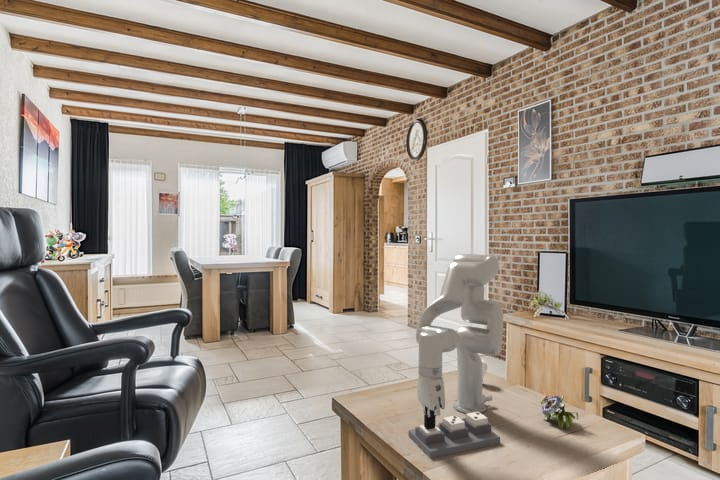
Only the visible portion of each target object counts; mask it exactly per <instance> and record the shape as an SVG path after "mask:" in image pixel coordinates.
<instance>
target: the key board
mask: <svg viewBox="0 0 720 480" xmlns="http://www.w3.org/2000/svg"><path fill="white" fill-rule="evenodd" d="M461 420H463V421H464V422H465V429H461V430H456V431H450V430H449V429H448V428H447V427H445V426H444V425H443V421H442V422H439V423H438V424H435V426H436V427H438V428H439V429H440V430H441V433H440V434H435V435H430V436H426V435H425V434H424V433H423V432H422V431H421V430H420V429H419V426H415V428H413V429H409V430H408V437H409V438H410V440H412V441H413V443H414V444H415V445H416V446H417V447H418V448H420V450H421V451H422V452H423V453H424V454H426V456H427V457H428V458H429V459H432V458H438V457H442V456H446V455H451V454H456V453H460V452H464V451H465V452H466V451H469V450H471V451H472V450H475V449H479V448H483V447H489V446H493V445H497V444H500V443H501V436H500V435H498V434H496V433H495V432H494V431H492V424H491V423H490V422H488V424H487V425H482V426H476V427H474V426H473V425H472V424H470V423H469V422H468V421H466V417H465V418H462V419H461Z"/></svg>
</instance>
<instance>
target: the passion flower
mask: <svg viewBox="0 0 720 480" xmlns="http://www.w3.org/2000/svg"><path fill="white" fill-rule="evenodd" d="M564 396H565V395H564V394H561V395H554V396H551V397H550V396H549V395H546V396H544V397H543V399H541V402H540V404H541V405H542V406H541V407H542V408H541V409H542V411H541V412H542V414H543V415H544V418H543V420H544V421H548V420H550V418H551V417H554V416H555V418H556V420H557V425H558V428H559V429H560V430H563V427H564V425H565V426H566V429H568V428H569V427H571V426H572V424H573V419H574V420H579V412H576V411H575V412H570V411H565V406H566V404H565V402H563V400H564ZM575 415H576V416H575ZM564 418H565V419H564Z"/></svg>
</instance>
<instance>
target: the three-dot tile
mask: <svg viewBox="0 0 720 480" xmlns="http://www.w3.org/2000/svg"><path fill="white" fill-rule="evenodd" d="M442 422H443V425H444V426H445V427H447V428H448V429H449V430H450V431H456V430H461V429H465V422H464V421H463V420H462V419H461V418H460V417H459V416H457V415H453V416H452V415H451V416H445V417H442Z"/></svg>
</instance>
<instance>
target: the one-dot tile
mask: <svg viewBox="0 0 720 480" xmlns="http://www.w3.org/2000/svg"><path fill="white" fill-rule="evenodd" d="M418 427H419V429H420V430H421V431H422V432H423V433H424V434H425V435H426V436H430V435H435V434H440V433H441V430H440V429H439V428H438V427H436V426H435V428H432V429H426V428H425V427H424V424H420V425H419V426H418Z"/></svg>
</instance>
